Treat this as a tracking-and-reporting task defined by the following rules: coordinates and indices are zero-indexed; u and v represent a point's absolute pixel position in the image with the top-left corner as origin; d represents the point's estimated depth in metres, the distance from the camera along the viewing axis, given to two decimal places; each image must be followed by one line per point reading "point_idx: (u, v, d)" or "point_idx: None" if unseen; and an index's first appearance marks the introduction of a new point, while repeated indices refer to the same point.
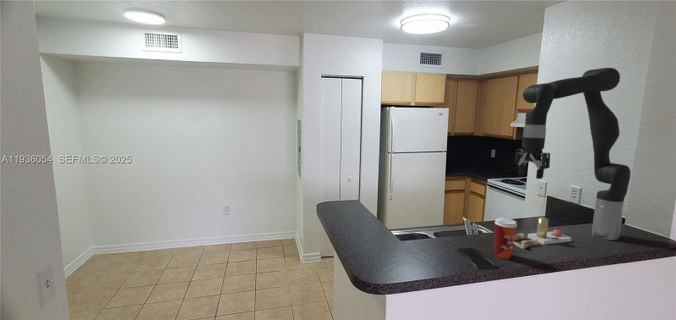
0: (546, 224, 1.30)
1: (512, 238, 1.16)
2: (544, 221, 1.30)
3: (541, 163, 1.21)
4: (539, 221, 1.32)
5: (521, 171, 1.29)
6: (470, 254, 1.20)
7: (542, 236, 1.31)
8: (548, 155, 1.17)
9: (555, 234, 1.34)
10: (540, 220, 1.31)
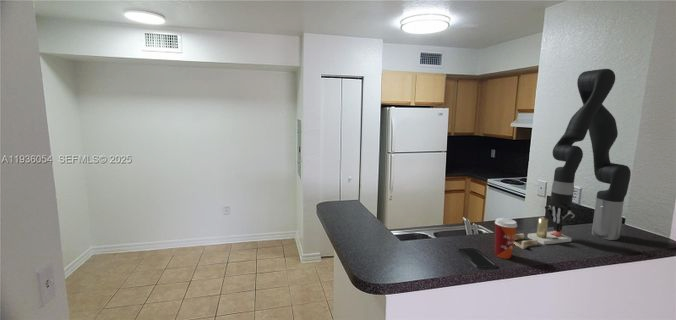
0: (546, 224, 1.30)
1: (512, 238, 1.16)
2: (544, 221, 1.30)
3: (563, 218, 1.33)
4: (539, 221, 1.32)
5: None
6: (470, 254, 1.20)
7: (542, 236, 1.31)
8: (573, 217, 1.28)
9: (555, 234, 1.34)
10: (540, 220, 1.31)
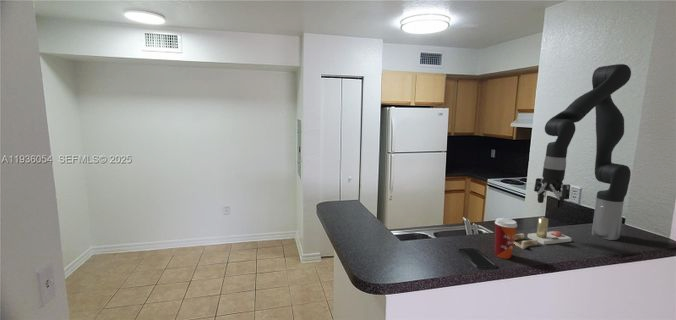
0: (546, 224, 1.30)
1: (512, 238, 1.16)
2: (544, 221, 1.30)
3: (561, 194, 1.27)
4: (539, 221, 1.32)
5: (540, 199, 1.35)
6: (470, 254, 1.20)
7: (542, 236, 1.31)
8: (568, 187, 1.24)
9: (555, 235, 1.34)
10: (540, 220, 1.31)
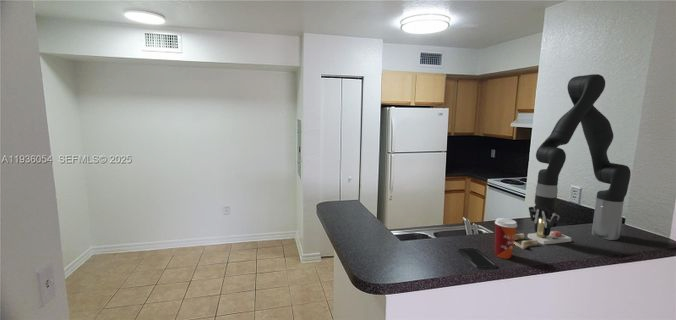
0: None
1: (512, 238, 1.16)
2: None
3: (549, 221, 1.29)
4: (539, 221, 1.32)
5: None
6: (470, 254, 1.20)
7: (542, 236, 1.31)
8: (558, 218, 1.25)
9: (555, 235, 1.34)
10: (540, 220, 1.31)
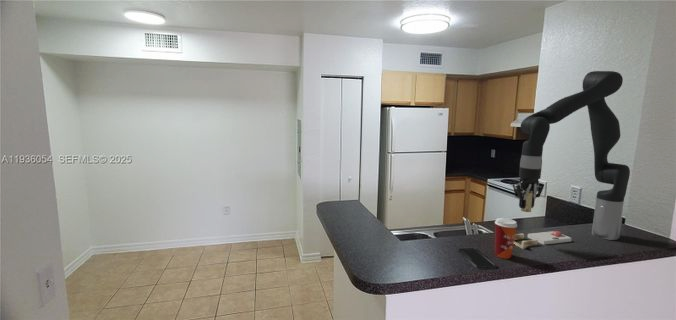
0: None
1: (512, 238, 1.16)
2: None
3: (524, 194, 1.26)
4: None
5: None
6: (470, 254, 1.20)
7: (521, 208, 1.29)
8: (516, 187, 1.25)
9: (555, 235, 1.34)
10: None
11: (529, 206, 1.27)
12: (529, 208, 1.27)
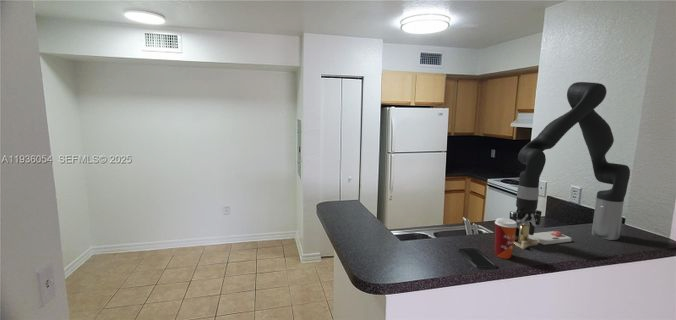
0: (520, 229, 1.29)
1: (512, 238, 1.16)
2: None
3: (519, 222, 1.28)
4: None
5: (529, 231, 1.31)
6: (470, 254, 1.20)
7: (518, 240, 1.31)
8: (512, 215, 1.27)
9: (555, 235, 1.34)
10: None
11: (526, 239, 1.29)
12: None
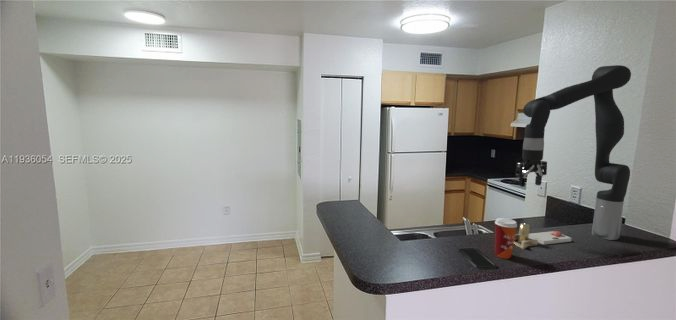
0: (521, 229, 1.29)
1: (512, 238, 1.16)
2: (520, 225, 1.30)
3: (524, 173, 1.32)
4: None
5: (536, 181, 1.36)
6: (470, 254, 1.20)
7: (518, 240, 1.31)
8: (519, 165, 1.31)
9: (555, 235, 1.34)
10: None
11: (526, 239, 1.29)
12: None
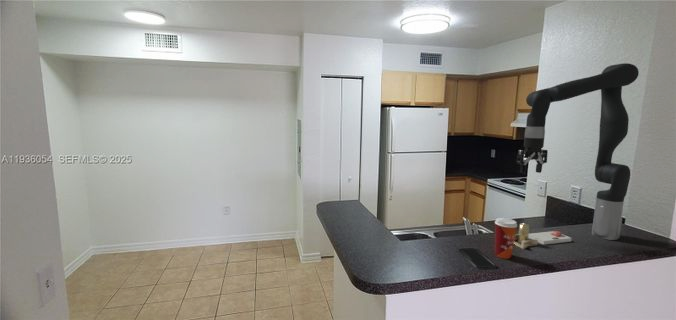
0: (520, 229, 1.29)
1: (512, 238, 1.16)
2: (519, 225, 1.30)
3: (525, 160, 1.38)
4: None
5: (537, 169, 1.41)
6: (470, 254, 1.20)
7: (518, 240, 1.31)
8: (520, 152, 1.37)
9: (555, 235, 1.34)
10: None
11: (526, 239, 1.29)
12: None
